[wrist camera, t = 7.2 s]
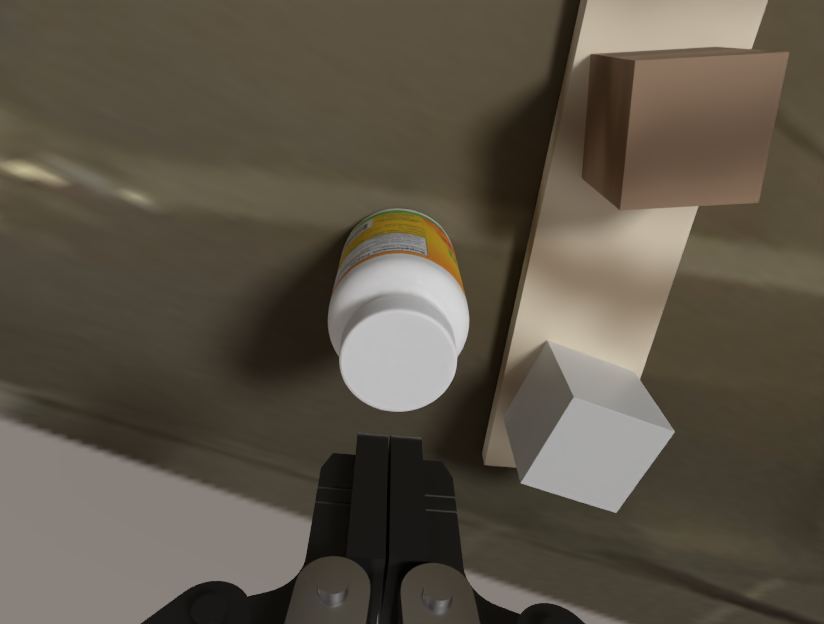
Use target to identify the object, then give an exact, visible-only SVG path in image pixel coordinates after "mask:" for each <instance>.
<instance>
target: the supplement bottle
mask: <svg viewBox="0 0 824 624" xmlns="http://www.w3.org/2000/svg"><path fill="white" fill-rule="evenodd" d="M468 329H469V312H468V305H467V301H466V297H465V292H464V288H463V284H462V280H461V276H460V272H459V268H458V264H457V260H456V256H455V252H454V249H453V246H452V244H451V241H450V239H449V237H448V236H447V234H446V232H445V231H444V230H443V228H442V227H441V226H440V225H439V224H438V223H437V222H435V221H434V220H433V219H431V218H430V217H428V216H426V215H425V214H422V213H420V212H417V211H413V210H409V209H400V208H397V209H387V210H383V211H379V212H377V213H374V214H372V215H370V216H369V217H367V218H365V219H364V220H363V221H361V222H360V223H359V224H358V225H357V226H356V227H355V228H354V229H353V231H352V232H351V233H350V235H349V237H348V239H347V240H346V243H345V245H344V248H343V251H342V254H341V259H340V263H339V267H338V271H337V275H336V280H335V284H334V288H333V292H332V296H331V300H330V304H329V311H328V331H329V336H330V339H331V342H332V345H333V347H334V349H335V351H336V353H337V355H338V356H339V366H340V371H341V375H342V377H343V380H344V382H345V384H346V385H347V387H348V388H349V389H350V391H351V392H352V393H353V394H354V395H355V396H356V397H357V398H359V399H360V400H361V401H363V402H365V403H366V404H368V405H370V406H372V407H375V408H378V409H381V410H386V411H396V412H402V411H410V410H415V409H418V408H421V407H424V406H426V405H428V404H429V403H431V402H433V401H434V400H436V399H437V398H438V397H439V396H441V395H442V394H443V393H444V392H445V390H446V389H447V388H448V386H449V385H450V383H451V382H452V380H453V377H454V375H455V371H456V366H457V357H458V355H459V354H460V352H461V350H462V349H463V346H464V344H465V341H466V338H467V334H468Z"/></svg>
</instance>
